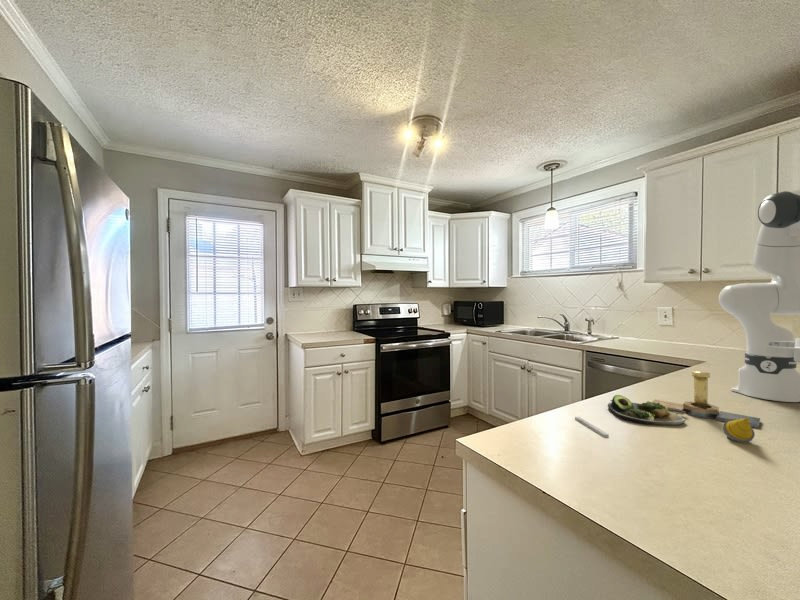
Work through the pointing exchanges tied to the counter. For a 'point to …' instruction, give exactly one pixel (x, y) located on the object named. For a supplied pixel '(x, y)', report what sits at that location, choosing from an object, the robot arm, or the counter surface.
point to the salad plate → (644, 412)
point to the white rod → (592, 427)
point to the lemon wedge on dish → (739, 430)
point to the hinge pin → (701, 388)
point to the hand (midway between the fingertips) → (767, 346)
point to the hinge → (708, 412)
